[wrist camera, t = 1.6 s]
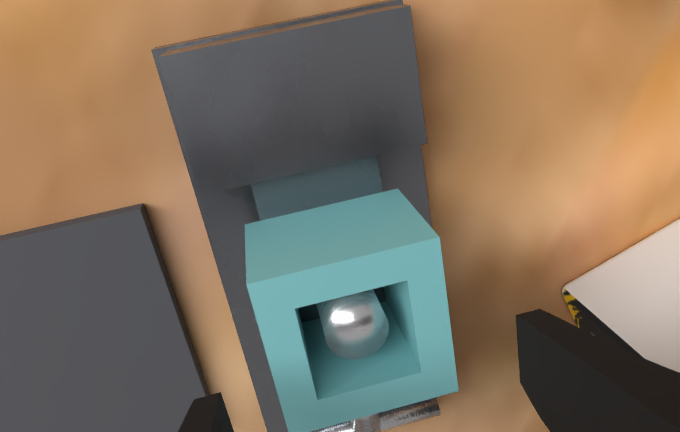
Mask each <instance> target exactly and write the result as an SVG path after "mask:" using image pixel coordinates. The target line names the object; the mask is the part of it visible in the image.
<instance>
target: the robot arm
mask: <svg viewBox="0 0 680 432" xmlns="http://www.w3.org/2000/svg"><path fill="white" fill-rule="evenodd" d="M516 325H517V340H518V355H519V370H520V383H521V385H522V386H523V388H524V390H525V392H526V394H527V395H528V397H529V399H530V401H531V403H532V404H533V406H534V408H535V409H536V411H537V413H538V414H539V416H540V418H541V419H542V421H543V422H544V424H545V425H546V426H547V428H548V429H549V430H550V432H680V372H677V371H674V370H672V369H669V368H666V367H664V366H661V365H659V364H657V363H654V362H652V361H649V360H647V359H645V358H642V357H640V356H637V355H635V354H633V353H631V352H628V351H626V350H624V349H622V348H619V347H617V346H615V345H613V344H611V343H609V342H607V341H605V340H602V339H600V338H598V337H596V336H594V335H592V334H590V333H588V332H586V331H584V330H582V329H580V328H578V327H576V326H574V325H572V324H570V323H568V322H566V321H564V320H562V319H560V318H558V317H556V316H554V315H552V314H550V313H547V312H545V311H543V310H541V309H538V310H534V311H530V312H526V313H522V314H519V315H516ZM178 432H234V431H233V428H232V425H231V422H230V419H229V416H228V413H227V410H226V407H225V404H224V401H223V398H222V395H221V392H220V393H216V394H212V395H209V396H205V397H201V398H197V399H194V401H193V402H192V404H191V405H190V407H189V409H188V411H187V413H186V415H185V418H184V420H183V422H182V424H181V426H180V428H179V430H178Z"/></svg>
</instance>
